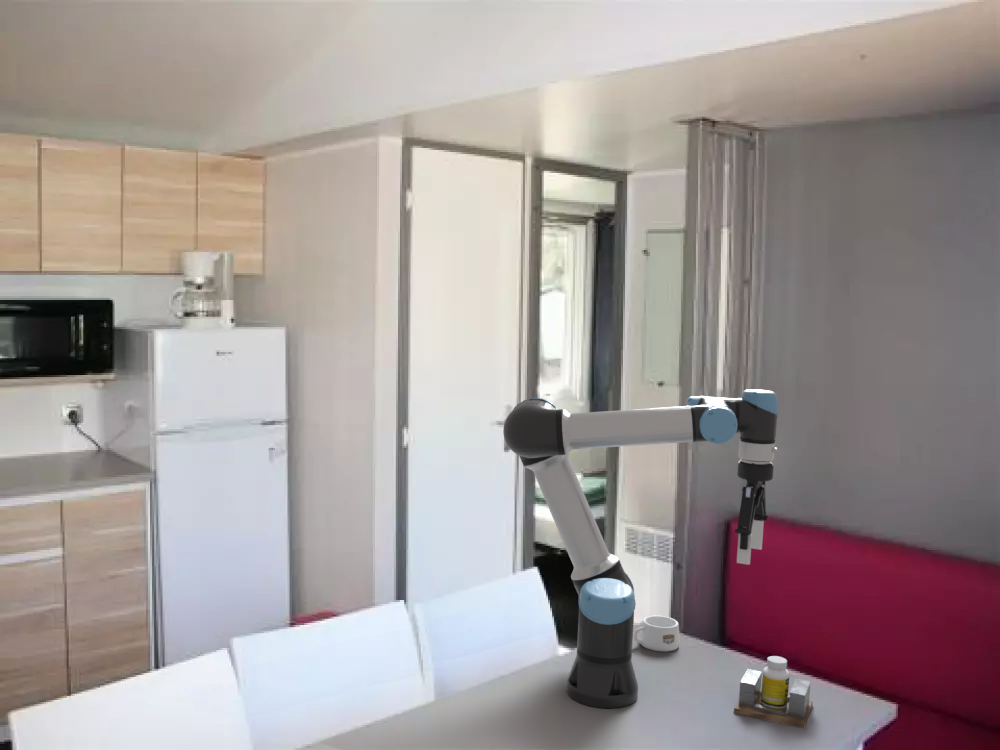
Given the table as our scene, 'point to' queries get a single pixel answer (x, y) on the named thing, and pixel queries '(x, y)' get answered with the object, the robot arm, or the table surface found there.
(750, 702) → the grey rectangular frame
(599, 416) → the robot arm
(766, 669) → the supplement bottle
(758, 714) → the mount board
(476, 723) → the table surface
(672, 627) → the mug
